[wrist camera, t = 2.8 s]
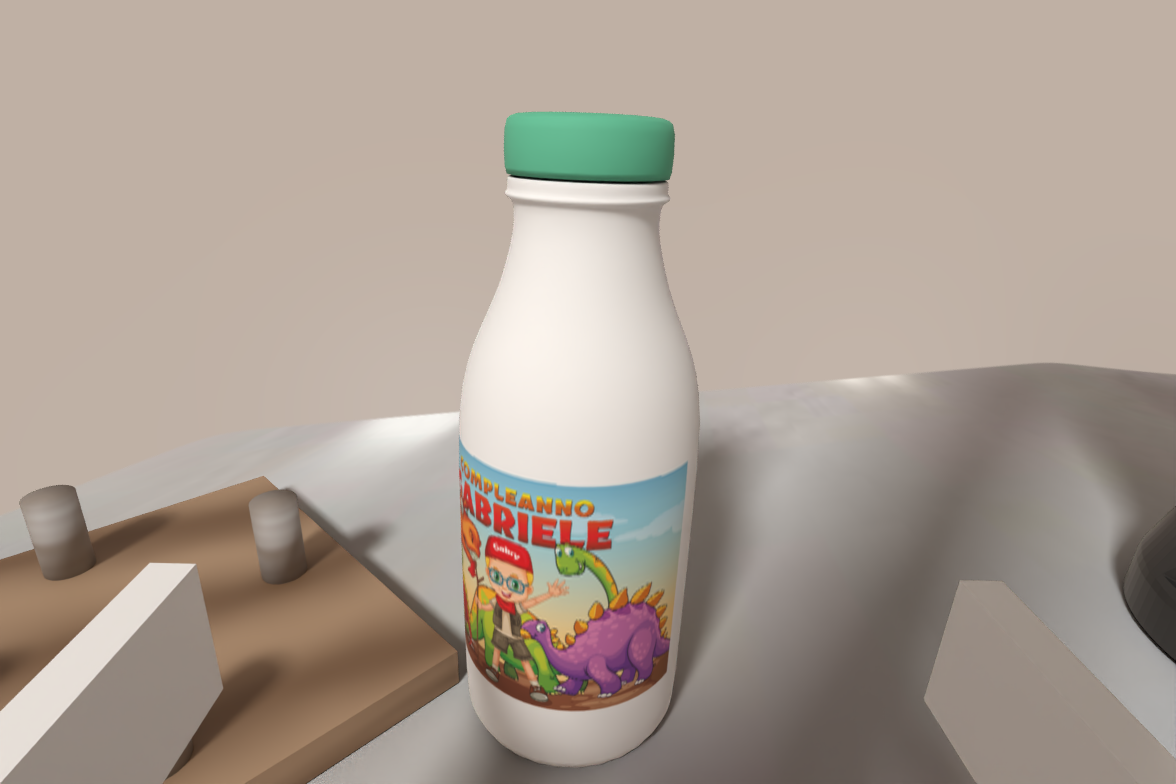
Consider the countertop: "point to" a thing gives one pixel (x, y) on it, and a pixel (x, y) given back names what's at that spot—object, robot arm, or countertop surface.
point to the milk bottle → (578, 448)
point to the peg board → (236, 625)
